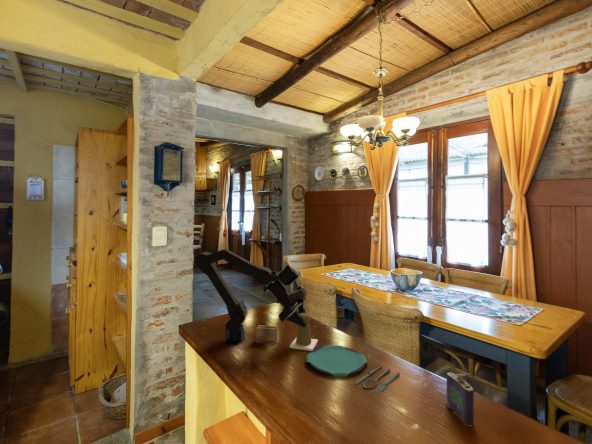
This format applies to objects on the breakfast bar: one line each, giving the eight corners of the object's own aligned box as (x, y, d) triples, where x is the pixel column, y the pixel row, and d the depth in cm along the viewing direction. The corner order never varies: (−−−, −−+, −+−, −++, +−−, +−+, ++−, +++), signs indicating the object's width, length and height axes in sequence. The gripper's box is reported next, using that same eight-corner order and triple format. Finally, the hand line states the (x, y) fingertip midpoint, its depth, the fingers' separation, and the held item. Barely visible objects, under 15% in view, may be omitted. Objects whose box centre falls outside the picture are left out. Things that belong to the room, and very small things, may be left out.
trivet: (289, 347, 119) (289, 345, 119) (296, 338, 128) (296, 336, 128) (312, 351, 116) (312, 349, 116) (317, 341, 125) (317, 339, 125)
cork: (313, 343, 120) (314, 315, 120) (298, 345, 118) (299, 317, 118) (308, 337, 126) (308, 310, 125) (294, 339, 124) (294, 312, 123)
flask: (443, 404, 85) (444, 365, 84) (453, 403, 85) (454, 364, 85) (467, 427, 75) (468, 384, 75) (477, 426, 76) (479, 383, 75)
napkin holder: (256, 342, 124) (256, 327, 123) (258, 339, 127) (258, 325, 126) (276, 343, 123) (276, 329, 122) (277, 340, 126) (277, 326, 125)
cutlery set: (332, 345, 122) (332, 339, 121) (404, 376, 100) (404, 369, 100) (295, 363, 108) (295, 357, 108) (371, 403, 86) (371, 395, 86)
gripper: (287, 286, 113) (315, 319, 110) (301, 276, 131) (326, 304, 128) (266, 305, 116) (294, 338, 113) (283, 292, 134) (308, 320, 131)
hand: (307, 324), depth 121 cm, fingers open, 5 cm apart
